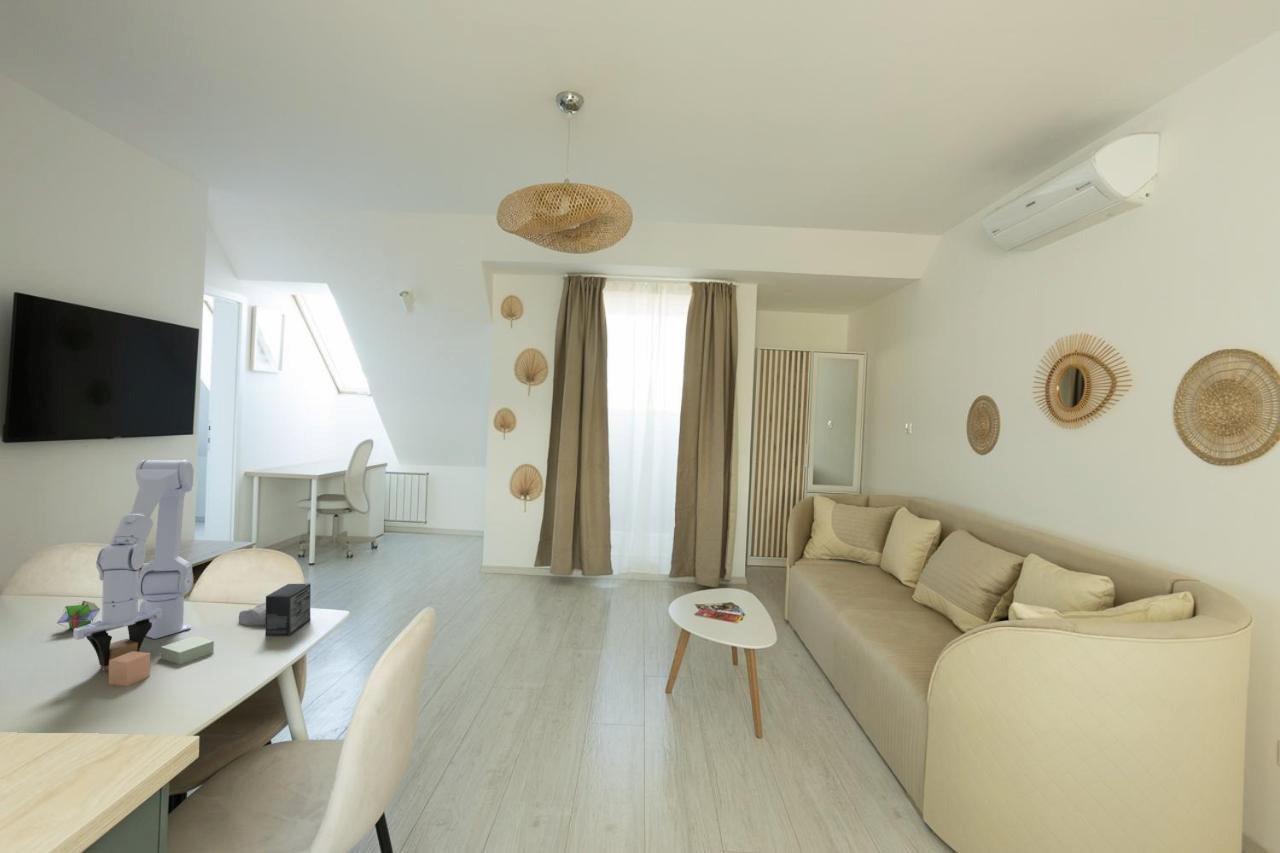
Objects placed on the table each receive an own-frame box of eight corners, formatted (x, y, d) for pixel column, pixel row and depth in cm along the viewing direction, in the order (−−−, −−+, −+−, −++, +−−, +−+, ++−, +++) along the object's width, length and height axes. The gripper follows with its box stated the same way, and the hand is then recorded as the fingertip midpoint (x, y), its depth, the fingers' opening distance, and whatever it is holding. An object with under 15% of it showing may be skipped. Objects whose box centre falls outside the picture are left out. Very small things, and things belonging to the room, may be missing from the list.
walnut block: (100, 668, 120) (100, 645, 120) (126, 660, 124) (126, 638, 124) (111, 673, 118) (111, 650, 118) (137, 664, 122) (137, 642, 122)
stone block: (234, 630, 147) (265, 626, 145) (232, 612, 147) (263, 608, 146) (271, 616, 159) (301, 613, 157) (270, 599, 159) (299, 596, 157)
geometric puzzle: (86, 625, 137) (96, 594, 141) (49, 629, 134) (60, 597, 138) (96, 634, 142) (106, 604, 146) (61, 638, 139) (71, 606, 143)
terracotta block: (108, 684, 113) (109, 660, 113) (131, 674, 118) (132, 651, 118) (126, 686, 113) (127, 662, 113) (149, 676, 117) (150, 653, 117)
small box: (286, 620, 150) (287, 582, 150) (311, 621, 151) (312, 583, 150) (263, 636, 140) (264, 595, 139) (290, 636, 140) (291, 595, 140)
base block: (160, 659, 126) (160, 646, 125) (194, 648, 132) (194, 635, 132) (179, 665, 123) (179, 652, 123) (213, 653, 129) (213, 641, 129)
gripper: (85, 612, 112) (84, 678, 112) (170, 592, 126) (168, 651, 126) (68, 606, 115) (67, 670, 115) (153, 587, 128) (151, 645, 129)
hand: (119, 660), depth 121 cm, fingers closed on walnut block, 4 cm apart
